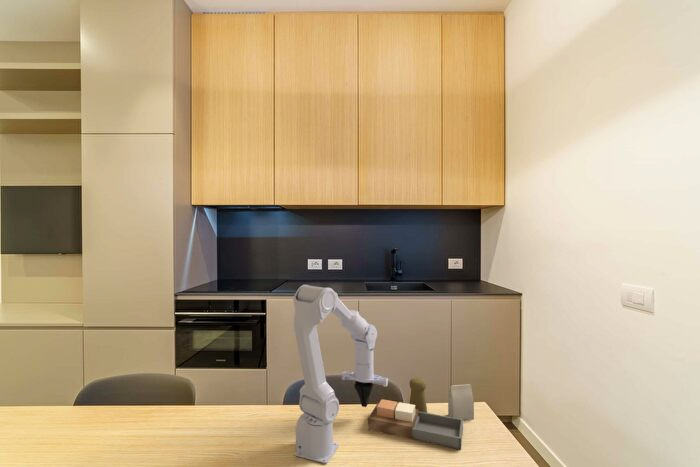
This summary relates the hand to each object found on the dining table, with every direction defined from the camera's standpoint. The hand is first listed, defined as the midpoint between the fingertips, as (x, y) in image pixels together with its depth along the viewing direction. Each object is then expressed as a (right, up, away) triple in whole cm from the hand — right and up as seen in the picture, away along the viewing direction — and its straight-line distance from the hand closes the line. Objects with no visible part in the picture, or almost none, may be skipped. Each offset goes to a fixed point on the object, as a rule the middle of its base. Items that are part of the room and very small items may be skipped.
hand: (364, 405), depth 106 cm
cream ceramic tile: (+12, -1, -5) cm, 13 cm away
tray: (+21, -4, -8) cm, 23 cm away
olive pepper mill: (+17, -5, +3) cm, 18 cm away
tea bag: (+30, -4, +1) cm, 31 cm away
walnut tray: (+9, -4, -3) cm, 10 cm away
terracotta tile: (+7, -1, -3) cm, 7 cm away
